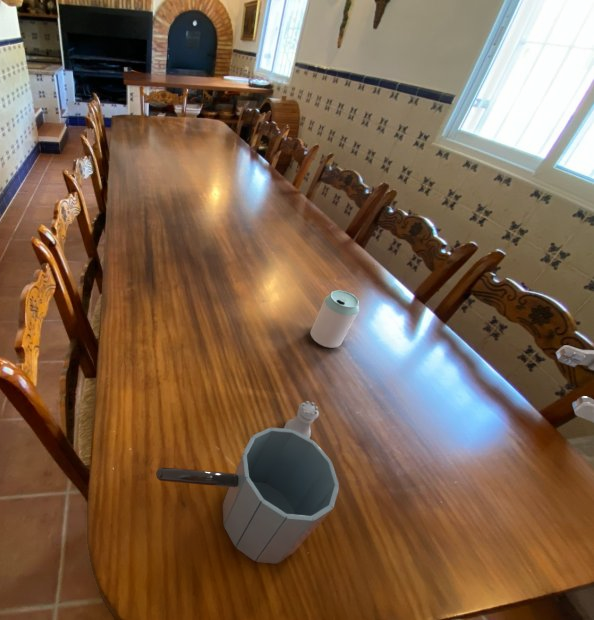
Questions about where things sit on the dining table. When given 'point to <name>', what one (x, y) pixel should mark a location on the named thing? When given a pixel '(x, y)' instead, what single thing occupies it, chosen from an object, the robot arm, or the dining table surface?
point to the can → (335, 318)
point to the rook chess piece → (303, 419)
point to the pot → (271, 493)
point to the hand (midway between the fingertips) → (568, 376)
